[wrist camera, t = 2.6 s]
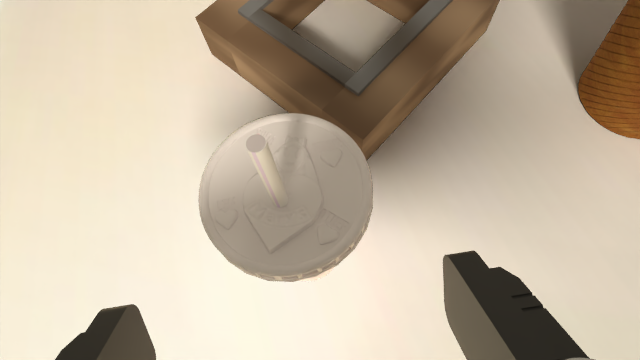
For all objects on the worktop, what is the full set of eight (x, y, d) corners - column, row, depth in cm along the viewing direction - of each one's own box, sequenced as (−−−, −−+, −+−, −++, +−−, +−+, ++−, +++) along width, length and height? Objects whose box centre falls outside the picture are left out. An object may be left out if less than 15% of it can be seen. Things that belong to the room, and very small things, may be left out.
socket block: (337, -53, 33) (336, -101, 29) (486, 30, 29) (505, -14, 25) (212, 54, 29) (193, 13, 26) (360, 166, 25) (363, 137, 21)
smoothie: (240, 295, 22) (99, 223, 9) (267, 190, 25) (181, 17, 12) (354, 316, 22) (368, 269, 9) (370, 205, 24) (399, 39, 11)
